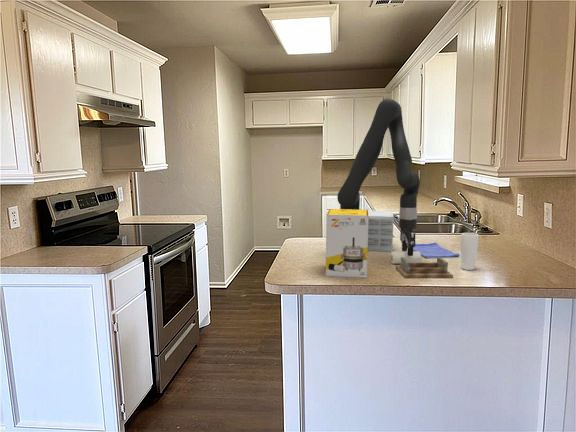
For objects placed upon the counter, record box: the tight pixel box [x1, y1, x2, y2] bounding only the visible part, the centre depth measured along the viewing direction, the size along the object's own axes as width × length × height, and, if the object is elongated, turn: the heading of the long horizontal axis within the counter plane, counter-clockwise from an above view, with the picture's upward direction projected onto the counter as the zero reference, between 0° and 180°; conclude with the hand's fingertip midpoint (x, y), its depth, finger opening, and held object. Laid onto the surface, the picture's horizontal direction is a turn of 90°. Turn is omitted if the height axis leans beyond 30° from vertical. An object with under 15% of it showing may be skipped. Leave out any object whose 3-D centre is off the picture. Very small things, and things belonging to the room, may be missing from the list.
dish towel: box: [407, 242, 461, 260], centre depth 207 cm, size 17×24×3 cm
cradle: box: [395, 257, 454, 279], centre depth 171 cm, size 19×14×6 cm
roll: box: [390, 250, 422, 265], centre depth 186 cm, size 13×6×6 cm, turn 90°
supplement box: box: [368, 210, 395, 253], centre depth 215 cm, size 17×13×18 cm
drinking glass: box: [460, 232, 480, 271], centre depth 176 cm, size 7×7×15 cm
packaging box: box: [325, 208, 369, 279], centre depth 172 cm, size 16×16×25 cm
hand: (407, 253), depth 186 cm, fingers open, 8 cm apart
